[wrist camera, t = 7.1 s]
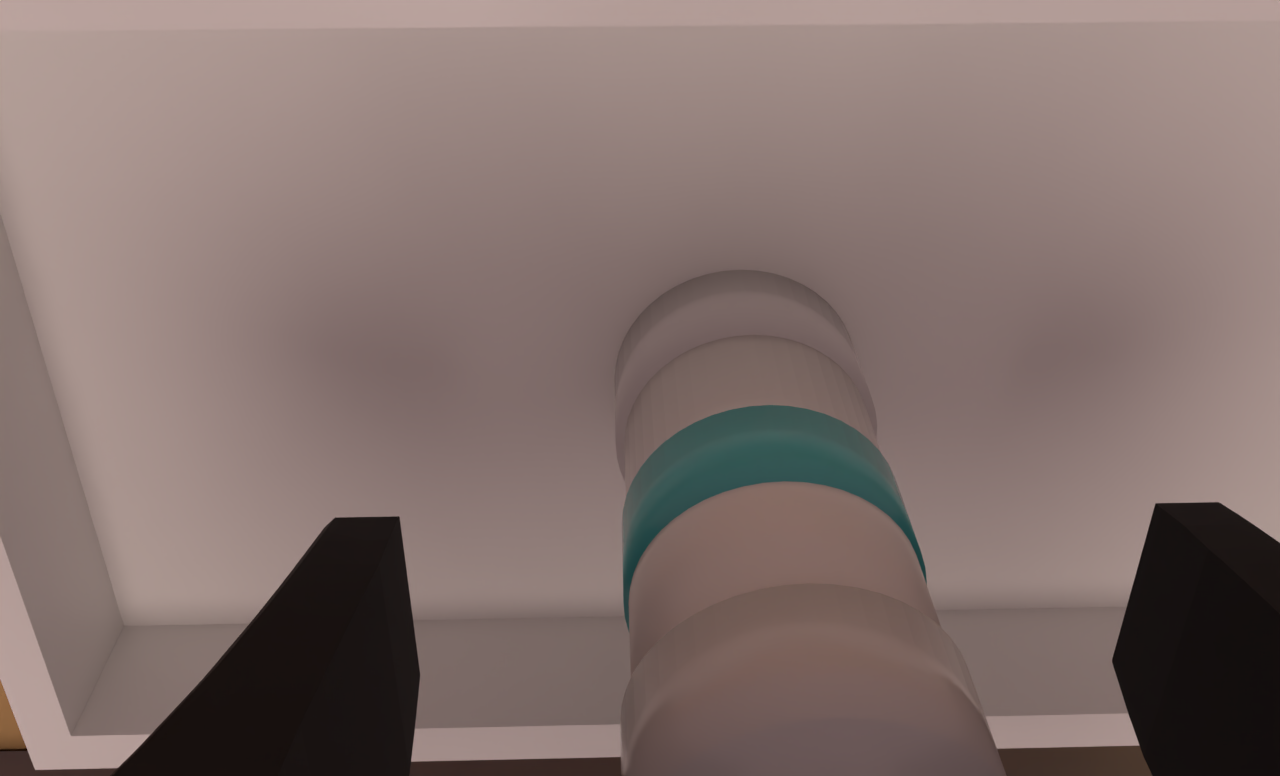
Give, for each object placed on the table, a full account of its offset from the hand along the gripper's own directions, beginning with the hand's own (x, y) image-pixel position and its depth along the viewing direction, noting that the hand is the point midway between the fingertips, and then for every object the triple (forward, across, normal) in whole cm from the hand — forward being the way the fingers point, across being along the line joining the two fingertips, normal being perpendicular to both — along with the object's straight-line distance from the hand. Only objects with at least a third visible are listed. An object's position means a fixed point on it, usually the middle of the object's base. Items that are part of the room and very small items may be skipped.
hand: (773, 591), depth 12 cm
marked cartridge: (+4, 0, 0) cm, 4 cm away
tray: (+4, 0, 0) cm, 5 cm away
